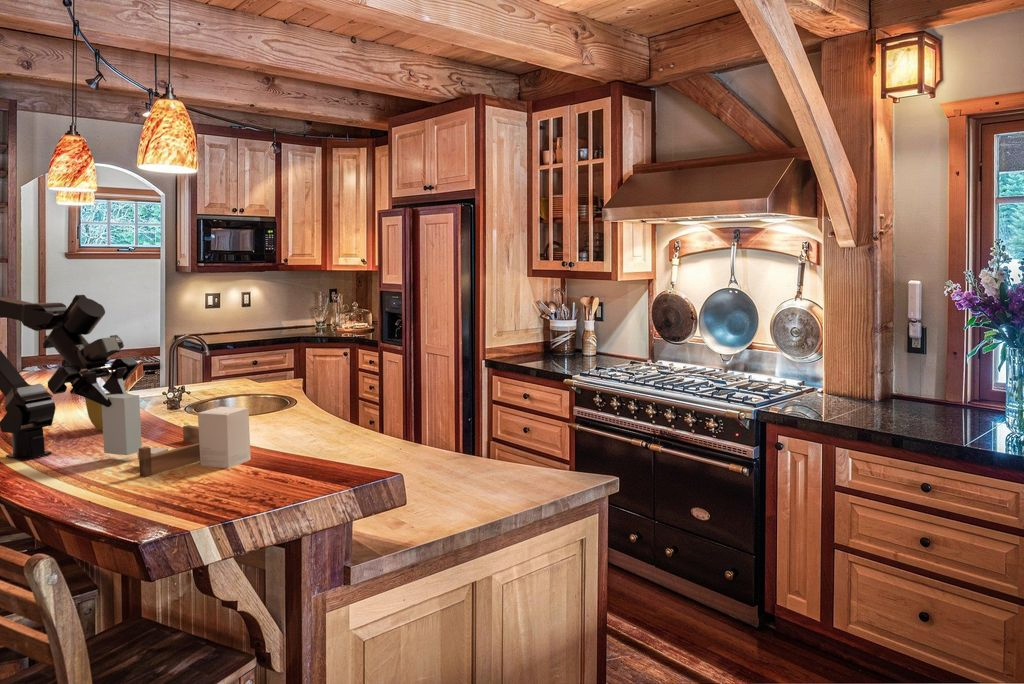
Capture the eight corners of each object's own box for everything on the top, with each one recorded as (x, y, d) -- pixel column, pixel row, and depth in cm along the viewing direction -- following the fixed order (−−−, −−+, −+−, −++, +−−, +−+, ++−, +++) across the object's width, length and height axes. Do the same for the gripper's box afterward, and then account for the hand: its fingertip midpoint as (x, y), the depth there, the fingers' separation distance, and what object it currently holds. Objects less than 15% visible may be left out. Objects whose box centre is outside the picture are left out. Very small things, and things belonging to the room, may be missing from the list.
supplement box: (252, 466, 158) (250, 407, 157) (228, 475, 151) (226, 414, 150) (223, 463, 160) (221, 405, 159) (199, 472, 153) (196, 412, 152)
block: (104, 452, 156) (101, 396, 155) (119, 448, 160) (116, 393, 158) (126, 455, 154) (124, 398, 153) (141, 450, 158) (139, 395, 157)
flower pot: (137, 428, 193) (136, 394, 192) (104, 435, 186) (102, 399, 185) (118, 424, 198) (117, 391, 197) (85, 430, 190) (83, 396, 190)
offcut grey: (137, 459, 150) (137, 452, 150) (152, 454, 154) (151, 447, 154) (154, 460, 149) (154, 453, 149) (168, 455, 153) (168, 448, 153)
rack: (86, 473, 152) (84, 439, 151) (188, 446, 175) (187, 416, 174) (145, 484, 145) (143, 449, 144) (244, 454, 167) (243, 424, 167)
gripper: (55, 327, 147) (101, 385, 145) (129, 320, 165) (172, 372, 162) (27, 364, 150) (72, 422, 148) (103, 354, 168) (144, 405, 166)
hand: (118, 403), depth 156 cm, fingers closed on block, 4 cm apart
